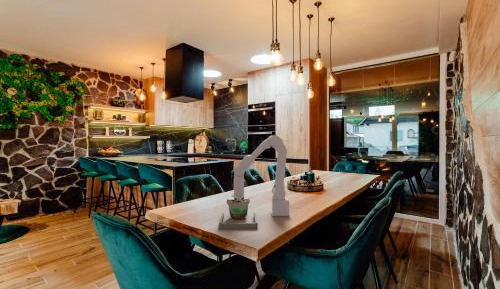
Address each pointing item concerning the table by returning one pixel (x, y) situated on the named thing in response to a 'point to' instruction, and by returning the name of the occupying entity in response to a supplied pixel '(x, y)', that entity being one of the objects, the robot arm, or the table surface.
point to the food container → (238, 208)
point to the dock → (238, 224)
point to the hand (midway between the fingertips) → (238, 211)
